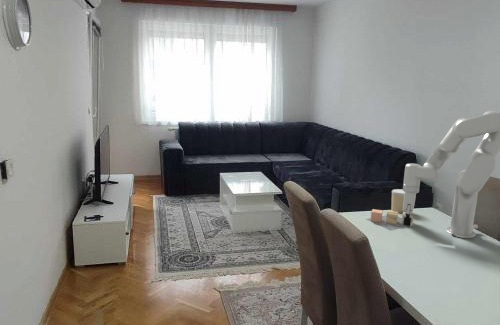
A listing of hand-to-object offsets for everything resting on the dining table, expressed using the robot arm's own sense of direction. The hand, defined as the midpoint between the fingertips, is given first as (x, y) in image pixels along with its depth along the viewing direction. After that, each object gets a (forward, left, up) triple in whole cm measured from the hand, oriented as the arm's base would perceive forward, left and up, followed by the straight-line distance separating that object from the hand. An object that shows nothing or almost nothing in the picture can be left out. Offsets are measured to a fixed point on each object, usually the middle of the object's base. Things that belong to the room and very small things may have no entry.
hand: (407, 222), depth 201 cm
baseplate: (+6, -5, -2) cm, 8 cm away
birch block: (0, 0, 0) cm, 0 cm away
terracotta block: (+11, -10, 0) cm, 15 cm away
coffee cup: (-13, -18, -2) cm, 22 cm away
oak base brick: (+6, -5, -1) cm, 8 cm away
